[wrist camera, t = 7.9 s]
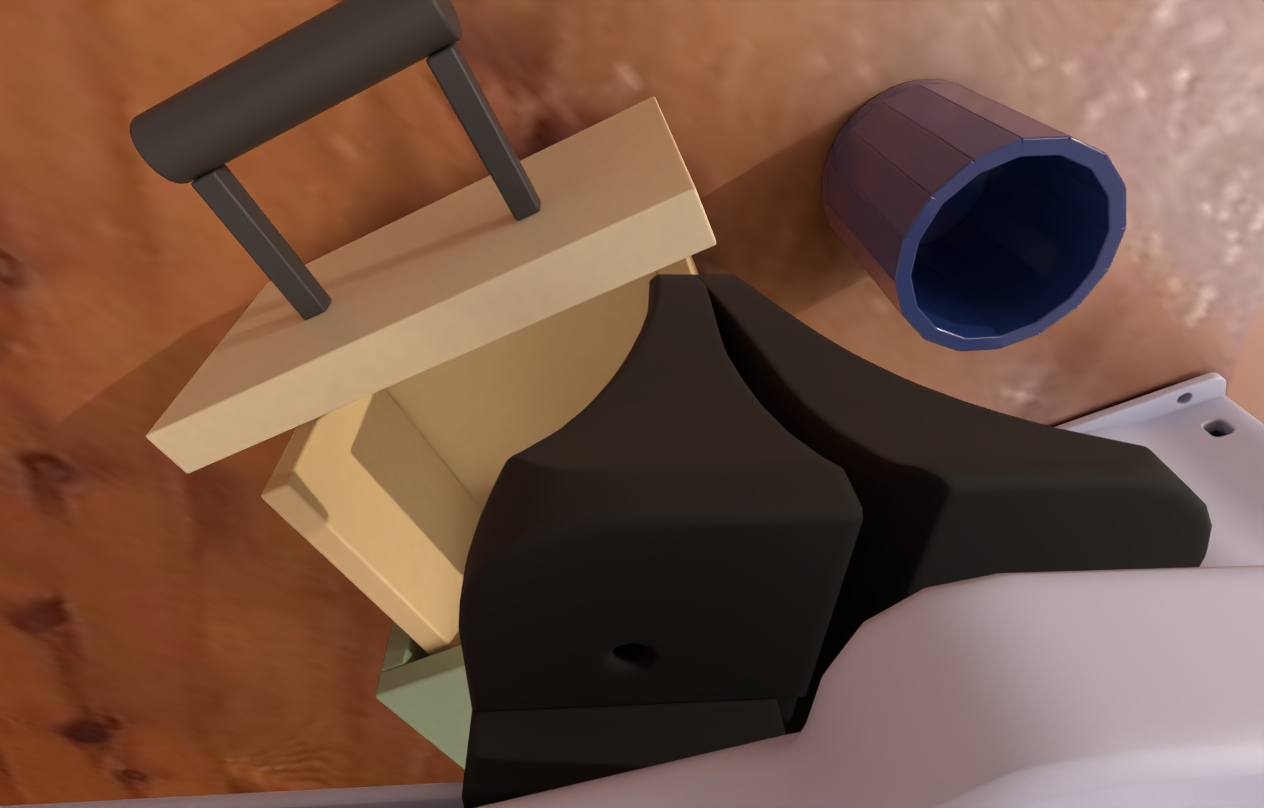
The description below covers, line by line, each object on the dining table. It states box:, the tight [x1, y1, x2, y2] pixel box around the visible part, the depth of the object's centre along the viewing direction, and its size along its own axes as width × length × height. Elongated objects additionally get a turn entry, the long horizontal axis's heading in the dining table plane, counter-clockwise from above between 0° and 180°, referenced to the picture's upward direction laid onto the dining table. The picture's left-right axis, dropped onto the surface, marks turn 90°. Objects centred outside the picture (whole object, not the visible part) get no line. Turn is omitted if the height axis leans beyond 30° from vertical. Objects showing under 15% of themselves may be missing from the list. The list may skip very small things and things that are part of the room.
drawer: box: [130, 0, 716, 656], centre depth 19 cm, size 18×12×7 cm
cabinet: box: [375, 621, 472, 770], centre depth 26 cm, size 15×14×9 cm
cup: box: [821, 79, 1126, 351], centre depth 18 cm, size 5×5×6 cm
